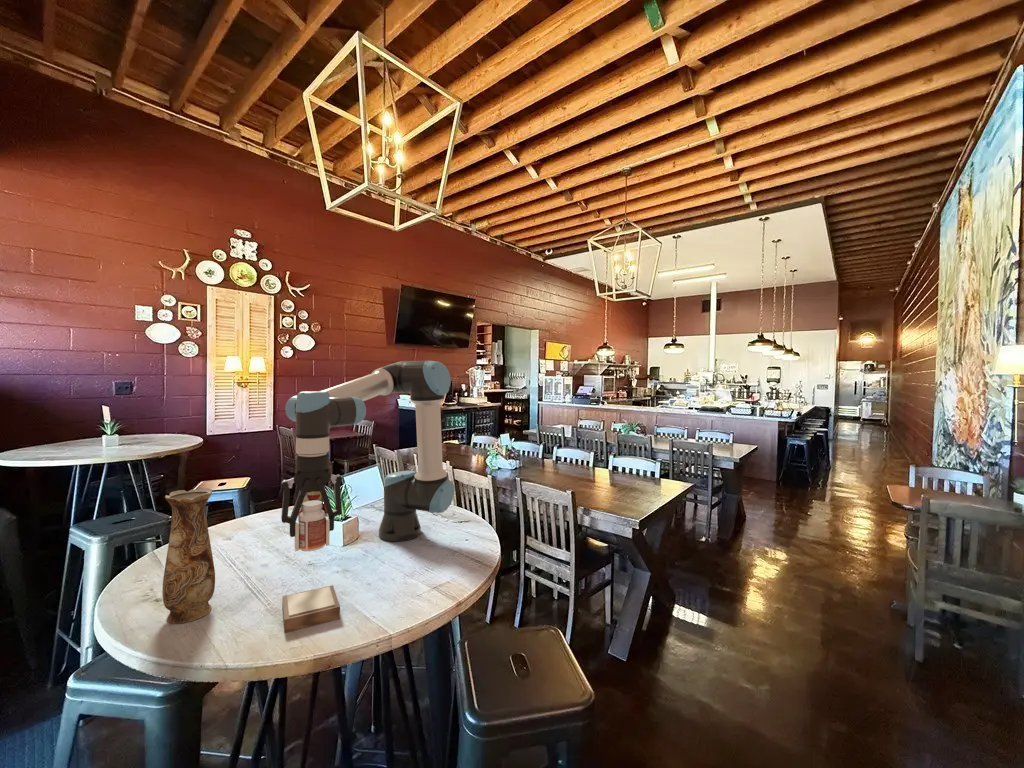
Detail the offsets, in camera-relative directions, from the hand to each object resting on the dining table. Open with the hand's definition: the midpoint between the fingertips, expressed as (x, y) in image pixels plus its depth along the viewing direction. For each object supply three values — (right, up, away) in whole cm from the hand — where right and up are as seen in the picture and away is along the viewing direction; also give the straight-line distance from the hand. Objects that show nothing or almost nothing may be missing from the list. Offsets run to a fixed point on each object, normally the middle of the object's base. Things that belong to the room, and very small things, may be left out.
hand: (312, 546), depth 107 cm
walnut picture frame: (-1, -17, 0) cm, 17 cm away
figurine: (-34, -15, +74) cm, 83 cm away
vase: (-30, -17, -1) cm, 34 cm away
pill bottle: (0, -1, 0) cm, 1 cm away
